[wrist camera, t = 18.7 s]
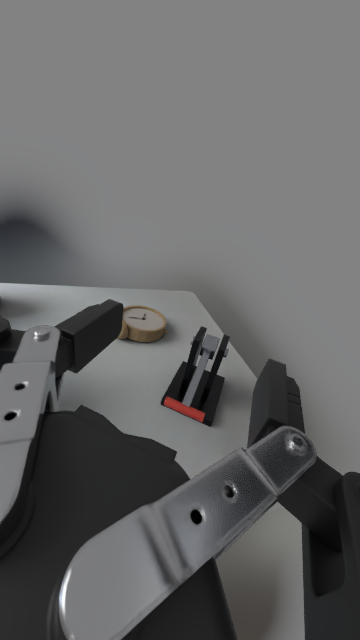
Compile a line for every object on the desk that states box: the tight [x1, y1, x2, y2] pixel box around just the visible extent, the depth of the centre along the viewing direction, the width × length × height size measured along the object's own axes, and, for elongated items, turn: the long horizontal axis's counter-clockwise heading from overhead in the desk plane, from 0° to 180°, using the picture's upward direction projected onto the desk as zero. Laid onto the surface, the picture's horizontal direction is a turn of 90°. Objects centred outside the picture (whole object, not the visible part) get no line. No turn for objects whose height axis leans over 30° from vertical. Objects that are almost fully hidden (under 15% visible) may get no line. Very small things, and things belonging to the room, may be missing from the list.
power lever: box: [164, 334, 220, 422], centre depth 34 cm, size 13×6×2 cm, turn 160°
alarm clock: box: [117, 306, 168, 342], centre depth 55 cm, size 11×5×15 cm
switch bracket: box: [161, 327, 230, 426], centre depth 40 cm, size 11×9×13 cm
